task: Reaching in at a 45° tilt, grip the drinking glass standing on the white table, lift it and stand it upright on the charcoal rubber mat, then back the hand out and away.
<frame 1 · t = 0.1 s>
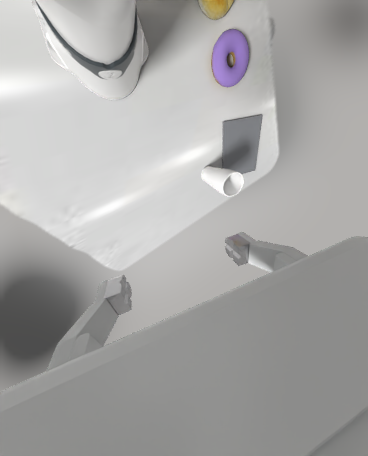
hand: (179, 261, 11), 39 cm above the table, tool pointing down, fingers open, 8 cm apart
drinking glass: (207, 173, 50), on the table
donut: (225, 64, 36), on the table
rubber mat: (240, 149, 49), on the table
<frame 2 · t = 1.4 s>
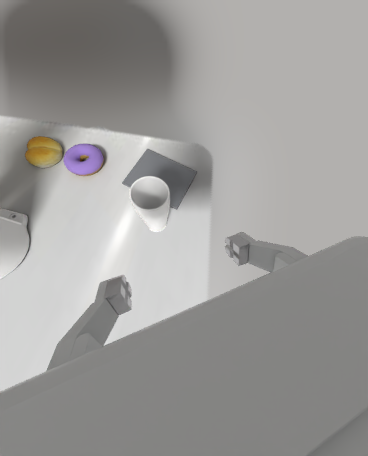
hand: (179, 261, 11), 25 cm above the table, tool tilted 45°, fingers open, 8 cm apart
drinking glass: (156, 223, 38), on the table
donut: (88, 164, 41), on the table
rubber mat: (161, 178, 42), on the table
bread roll: (48, 156, 40), on the table
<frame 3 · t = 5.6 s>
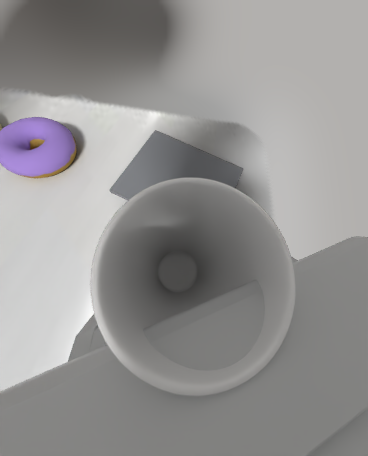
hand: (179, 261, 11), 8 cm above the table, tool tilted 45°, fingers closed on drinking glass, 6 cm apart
drinking glass: (177, 270, 19), on the table, touching gripper
donut: (50, 158, 23), on the table
rubber mat: (181, 180, 23), on the table
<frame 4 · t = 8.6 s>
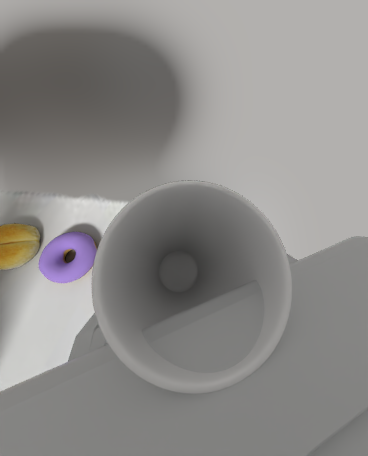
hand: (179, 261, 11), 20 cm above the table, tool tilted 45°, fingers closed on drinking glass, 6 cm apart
drinking glass: (178, 270, 19), point 12 cm above the table, touching gripper
donut: (76, 257, 30), on the table
bread roll: (20, 246, 29), on the table
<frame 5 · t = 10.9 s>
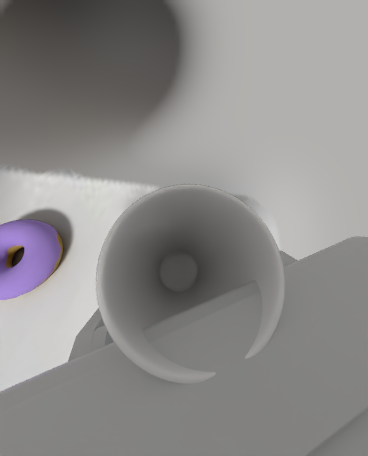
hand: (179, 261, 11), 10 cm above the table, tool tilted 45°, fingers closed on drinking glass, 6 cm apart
drinking glass: (178, 270, 19), point 1 cm above the table, touching gripper
donut: (32, 258, 20), on the table
when the fingers open (10 cm above the table, at t = 11.6 s): drinking glass moves 1 cm, resting on rubber mat.
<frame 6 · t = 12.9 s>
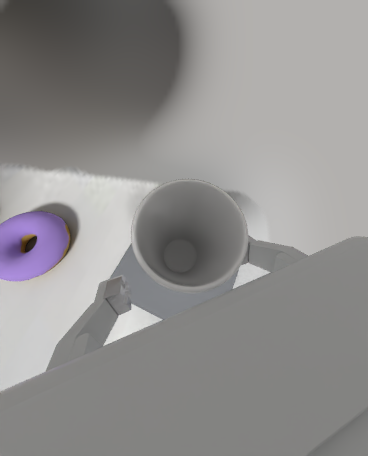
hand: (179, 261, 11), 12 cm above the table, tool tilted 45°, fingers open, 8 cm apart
drinking glass: (179, 256, 22), resting on rubber mat, touching gripper
donut: (43, 246, 22), on the table
rubber mat: (179, 269, 22), on the table
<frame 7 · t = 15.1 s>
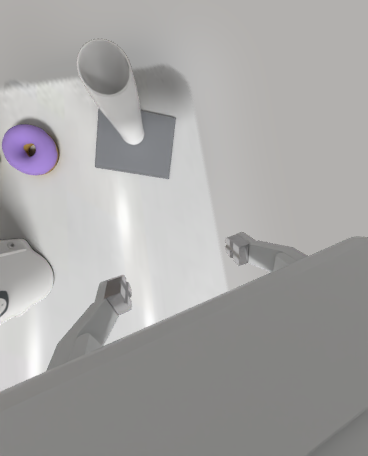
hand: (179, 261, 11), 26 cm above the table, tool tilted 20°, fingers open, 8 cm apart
drinking glass: (133, 134, 33), resting on rubber mat
donut: (40, 154, 32), on the table
rubber mat: (136, 143, 33), on the table
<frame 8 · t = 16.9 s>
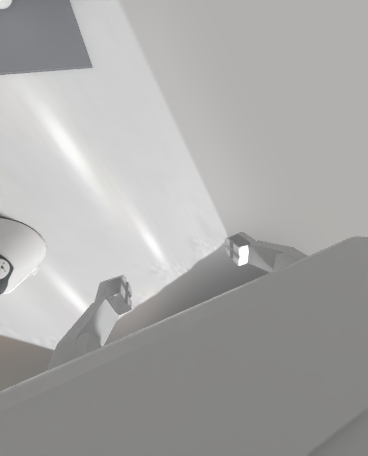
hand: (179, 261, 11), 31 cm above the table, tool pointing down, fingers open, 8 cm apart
rubber mat: (8, 5, 21), on the table
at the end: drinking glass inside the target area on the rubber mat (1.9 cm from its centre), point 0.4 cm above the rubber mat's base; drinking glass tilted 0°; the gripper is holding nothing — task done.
